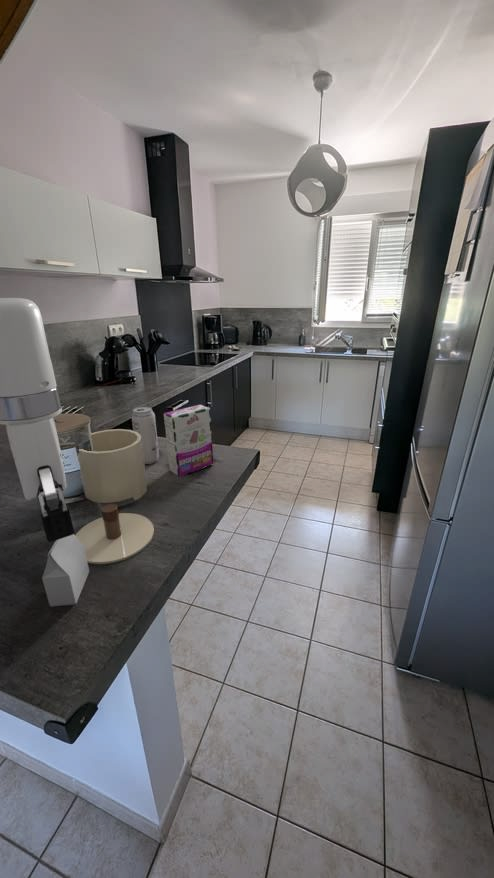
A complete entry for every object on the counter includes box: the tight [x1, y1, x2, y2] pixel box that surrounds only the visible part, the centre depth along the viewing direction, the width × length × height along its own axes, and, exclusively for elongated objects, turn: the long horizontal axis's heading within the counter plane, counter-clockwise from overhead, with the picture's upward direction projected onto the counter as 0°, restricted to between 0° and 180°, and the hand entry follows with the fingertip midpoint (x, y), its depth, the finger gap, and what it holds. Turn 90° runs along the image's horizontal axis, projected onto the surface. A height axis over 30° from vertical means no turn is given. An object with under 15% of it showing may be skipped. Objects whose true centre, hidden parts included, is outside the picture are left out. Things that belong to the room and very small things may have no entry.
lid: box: [74, 503, 155, 565], centre depth 66 cm, size 15×15×7 cm
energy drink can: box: [131, 406, 160, 465], centre depth 96 cm, size 6×6×15 cm
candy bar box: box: [163, 404, 214, 477], centre depth 92 cm, size 11×5×16 cm, turn 131°
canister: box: [78, 428, 148, 507], centre depth 81 cm, size 14×14×14 cm
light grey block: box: [41, 533, 90, 607], centre depth 54 cm, size 4×7×10 cm, turn 7°
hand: (56, 519), depth 51 cm, fingers open, 9 cm apart
